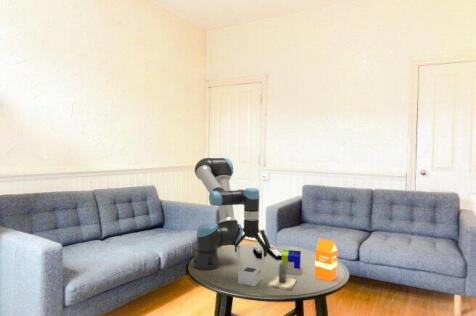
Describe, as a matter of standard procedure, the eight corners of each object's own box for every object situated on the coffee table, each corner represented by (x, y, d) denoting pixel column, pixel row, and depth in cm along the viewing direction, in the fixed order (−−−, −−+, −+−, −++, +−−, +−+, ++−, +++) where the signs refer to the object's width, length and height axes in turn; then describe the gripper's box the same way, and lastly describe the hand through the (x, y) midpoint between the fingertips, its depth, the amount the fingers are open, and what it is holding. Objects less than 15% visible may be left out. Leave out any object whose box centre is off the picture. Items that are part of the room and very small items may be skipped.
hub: (238, 283, 168) (238, 271, 167) (244, 276, 176) (244, 265, 176) (255, 286, 164) (255, 274, 164) (260, 279, 173) (261, 268, 173)
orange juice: (330, 281, 173) (331, 243, 172) (314, 276, 179) (315, 239, 178) (336, 277, 179) (337, 240, 178) (321, 272, 185) (322, 236, 184)
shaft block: (267, 286, 165) (267, 265, 164) (273, 277, 176) (274, 258, 176) (291, 290, 160) (292, 269, 160) (296, 281, 172) (297, 261, 171)
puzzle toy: (299, 275, 181) (300, 256, 180) (281, 273, 183) (281, 255, 182) (300, 268, 191) (300, 251, 190) (282, 266, 193) (283, 249, 192)
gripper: (225, 218, 170) (224, 259, 170) (273, 222, 161) (272, 266, 161) (231, 215, 177) (230, 255, 177) (277, 219, 168) (276, 261, 168)
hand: (250, 260), depth 169 cm, fingers open, 13 cm apart
